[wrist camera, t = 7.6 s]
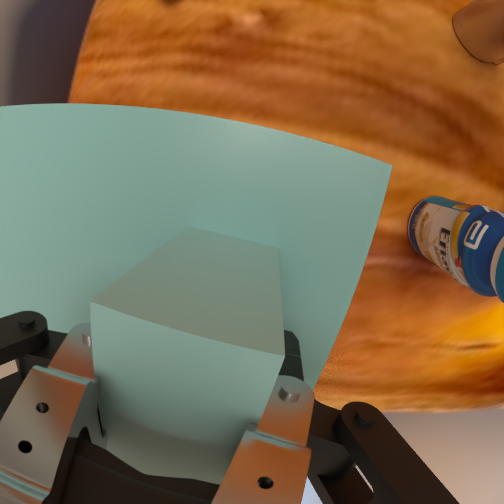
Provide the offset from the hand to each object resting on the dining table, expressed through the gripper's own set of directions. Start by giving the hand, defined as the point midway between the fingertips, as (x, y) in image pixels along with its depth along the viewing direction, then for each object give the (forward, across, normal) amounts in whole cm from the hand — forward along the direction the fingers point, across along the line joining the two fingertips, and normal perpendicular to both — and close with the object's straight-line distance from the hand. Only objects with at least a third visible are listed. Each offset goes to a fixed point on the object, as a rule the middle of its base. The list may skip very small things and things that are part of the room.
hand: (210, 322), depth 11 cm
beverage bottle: (+25, -23, -5) cm, 34 cm away
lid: (+2, +5, 0) cm, 6 cm away
